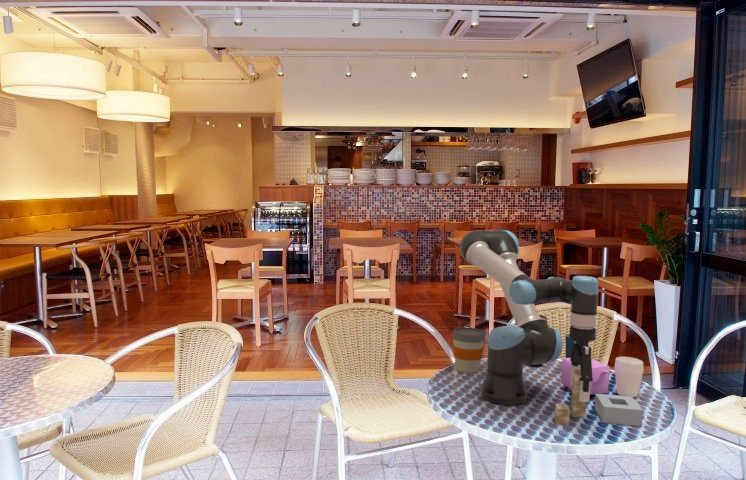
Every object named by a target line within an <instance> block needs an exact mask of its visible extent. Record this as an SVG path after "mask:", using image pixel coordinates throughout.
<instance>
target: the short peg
mask: <svg viewBox="0 0 746 480" xmlns="http://www.w3.org/2000/svg"><path fill="white" fill-rule="evenodd" d="M554 406H555V407H554V408H555V409H554V421H555V424H556V425H559V426H560V425H561V426H569V425H570V414H571V408H570V406H569V405H568V404H561V403H559V404H558V403H555V405H554Z"/></svg>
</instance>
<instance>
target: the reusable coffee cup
mask: <svg viewBox="0 0 746 480" xmlns="http://www.w3.org/2000/svg"><path fill="white" fill-rule="evenodd" d="M485 333H486V332H485V331H484V330H482V329H480V328H476V327H475V328H474V327H467V326H466V327H456V328H454V329H453V332H452V337H451V338H452V340H453V341H452V342H453V343H452V350H453V351H452V352H453V353H452V354H453V357H454V363H455V369H456V370H457V371H459V372H462V373H467V374H468V373H470V374H471V373H472V374H473V373H478V372H479V371H480V367H481V366H480V364H481V360H482V359H483V355H484V349H485V346H484V344H485V343H484V342H485V340H486V336H485V335H486V334H485Z"/></svg>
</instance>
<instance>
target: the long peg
mask: <svg viewBox="0 0 746 480" xmlns="http://www.w3.org/2000/svg"><path fill="white" fill-rule="evenodd" d="M585 377H587V376H585ZM579 378H581V370H576V369H573V382H572V391H571V402H570V414H571V417H573V418H574V417H575V418H582V419H583V418H586V417H585V416H586V403H587V402H580V401H579V396H580V381H579Z"/></svg>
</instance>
